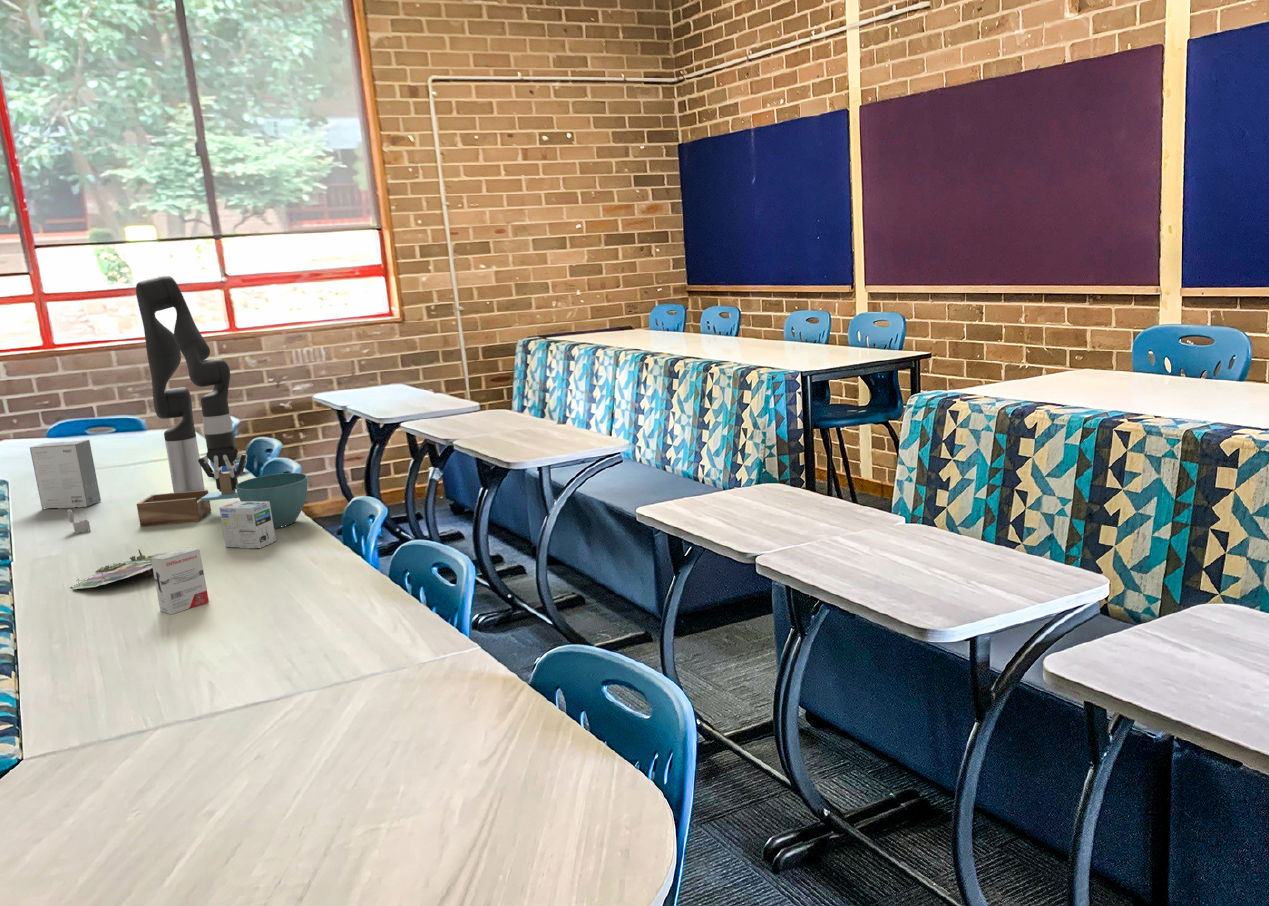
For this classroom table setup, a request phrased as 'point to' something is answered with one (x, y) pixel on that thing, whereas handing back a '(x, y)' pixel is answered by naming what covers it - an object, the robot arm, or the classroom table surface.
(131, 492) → the classroom table surface
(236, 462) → the cell model
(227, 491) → the lid
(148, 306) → the robot arm
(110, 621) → the classroom table surface
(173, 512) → the brown wooden shelf box
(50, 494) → the hard drive box
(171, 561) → the ink box
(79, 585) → the city model
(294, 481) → the plant pot
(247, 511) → the light bulb box
